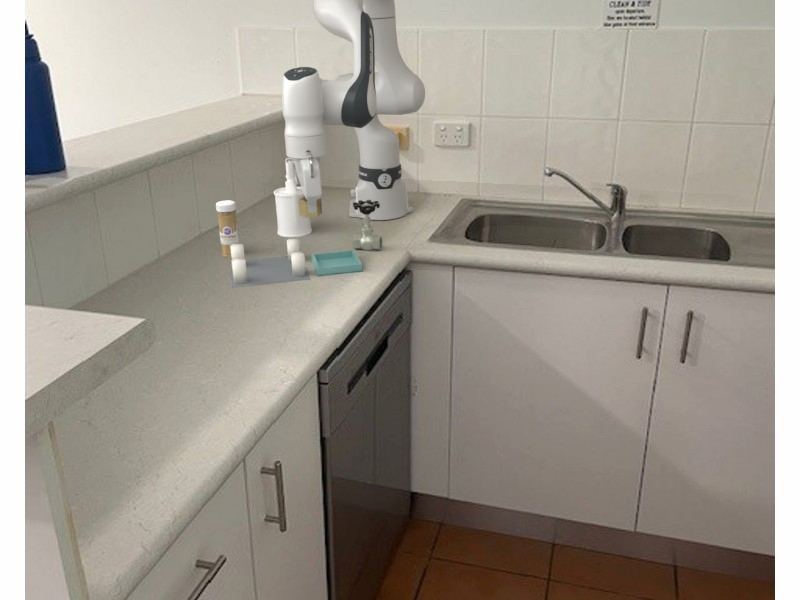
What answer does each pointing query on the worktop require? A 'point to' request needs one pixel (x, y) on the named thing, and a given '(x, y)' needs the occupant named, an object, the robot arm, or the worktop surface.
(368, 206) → the valve
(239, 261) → the spacer
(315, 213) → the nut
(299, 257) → the cylinder
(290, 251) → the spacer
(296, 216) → the white spouted canister
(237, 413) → the worktop surface
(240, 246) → the spacer
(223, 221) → the sprinkles bottle
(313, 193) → the robot arm
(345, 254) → the tray
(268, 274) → the mat
